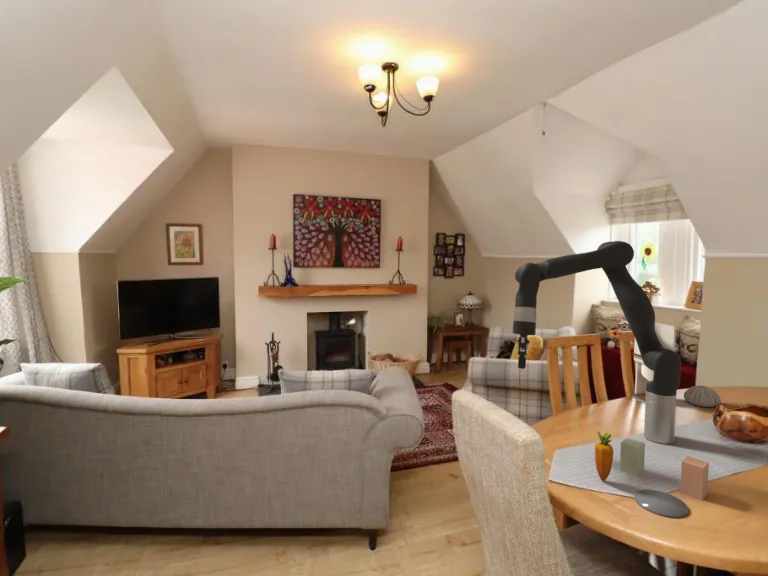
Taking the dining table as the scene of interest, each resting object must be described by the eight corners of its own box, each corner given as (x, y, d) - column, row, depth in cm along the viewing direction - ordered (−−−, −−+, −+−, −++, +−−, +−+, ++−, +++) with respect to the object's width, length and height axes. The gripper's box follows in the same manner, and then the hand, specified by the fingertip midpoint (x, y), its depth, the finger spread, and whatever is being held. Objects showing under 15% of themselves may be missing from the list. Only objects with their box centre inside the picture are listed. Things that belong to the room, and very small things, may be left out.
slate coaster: (644, 486, 122) (644, 484, 122) (694, 505, 113) (694, 503, 113) (627, 502, 115) (627, 500, 115) (679, 523, 105) (679, 521, 105)
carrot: (590, 477, 128) (591, 428, 126) (605, 476, 128) (607, 428, 127) (599, 486, 123) (601, 435, 121) (616, 485, 123) (618, 435, 122)
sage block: (626, 465, 135) (627, 437, 134) (643, 471, 131) (645, 443, 130) (619, 470, 132) (620, 442, 131) (637, 476, 128) (638, 447, 127)
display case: (632, 397, 197) (635, 323, 194) (653, 396, 198) (656, 322, 196) (650, 406, 186) (653, 327, 183) (672, 405, 187) (676, 326, 184)
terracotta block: (686, 486, 122) (687, 456, 122) (707, 493, 118) (708, 462, 118) (680, 492, 119) (681, 461, 118) (701, 500, 115) (703, 468, 115)
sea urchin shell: (688, 407, 185) (689, 389, 184) (679, 397, 198) (680, 380, 197) (725, 410, 180) (726, 392, 180) (713, 400, 193) (714, 383, 192)
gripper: (536, 320, 139) (533, 370, 137) (536, 323, 152) (533, 368, 150) (512, 318, 142) (509, 367, 140) (514, 321, 155) (511, 366, 153)
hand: (521, 368), depth 145 cm, fingers open, 8 cm apart
